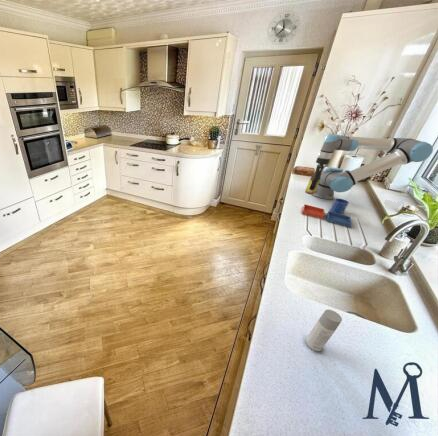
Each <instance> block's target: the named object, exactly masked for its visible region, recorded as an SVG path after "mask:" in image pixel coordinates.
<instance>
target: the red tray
mask: <svg viewBox="0 0 438 436" xmlns="http://www.w3.org/2000/svg"><path fill="white" fill-rule="evenodd" d="M301 214H302V215H305V216H309V217H313V218H317V219H321V220H324V218H325V208H321V207H318V206H313V205H309V204H305V203H304V204H303V206H302V212H301Z"/></svg>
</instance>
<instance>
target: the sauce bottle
mask: <svg viewBox="0 0 438 436" xmlns="http://www.w3.org/2000/svg"><path fill="white" fill-rule="evenodd" d="M316 169H317V167H316V168H315V170H314V173H313V174H312V175H311V176H310V178H309V180H308V183H307V185H306V187H305V192H304V193H305V194H308V195H312V194H314V193H315V191H316V188H317V186H318V184H319V182H320V179H321V174H322V172H321V173H320V176H319V178H318V181H317V183H316V185H315V187H314V190H310V189H309V188H310V186H311V183H312V180H313V179H314V177H315V174H316Z"/></svg>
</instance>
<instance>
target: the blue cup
mask: <svg viewBox="0 0 438 436" xmlns="http://www.w3.org/2000/svg"><path fill="white" fill-rule="evenodd" d="M349 204H350V202H349V201H348V200H346V199H344V198H335V199H334V200H333V202H332V205H331V207H330V209H329V212H333V213H338V214H342V215H344V213H345V211H346V209H347V207H348V205H349Z"/></svg>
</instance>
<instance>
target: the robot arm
mask: <svg viewBox="0 0 438 436" xmlns="http://www.w3.org/2000/svg"><path fill="white" fill-rule="evenodd" d="M357 149H359V150H360V149H361V150H373V151H382V152H383V153H389V154H387V155H384V156H382V157H380V158H378V159H374V160H372V161H371V162H367V163H366V164H364V165H361V166H358V167H356V168H354V169H351V170H349V169H346V170H344V169H342V168H339V167H332V166H327V165H329V163H330V161H331V159H332V157H333V155H334V152H335V151H344V152H355V151H356V150H357ZM433 151H434V146H433V145H432V144H431V143H429V142H427V141H421V140H419V139H414V138H410V137H407V138H406V137H388V138H377V137H364V136H350V135H341V134H327V135H326V136H325V138H324V140H323V143H322V145H321V148H320V150H319V151H318V156H317V157H316V160H315V163H316V164H317V165H316V168H317V169H316V168H315V171H316V174H315V177H314V179H313V180H312V183H311V186H310V188H309V189H310V190H314V187H315V185H316V183H317V181H318V178H319V176H320V173H321V179H320V182H319V184H318V186H317V188H316V191H315V193H314V194H311V195H312V196H313V197H316V198H319V199H323V200H332V199H333V198H334V197H335V192H336V193H346V192H348V191H350V190H351V189H352V187H353V186H355V185H357V183H358V182H359V181H362V180H364V179H366V178H369V177H372V176H374V175H377V174H379V173H381V172H384V171H386V170H389V169H391V168H394V167H397V166H399V165H404V166H405V165H407V164H409V163H412V162H413V163H421V162H424V161H425V160H427V159H429V157H431V155H432V154H433ZM325 165H326V167H325Z"/></svg>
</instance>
